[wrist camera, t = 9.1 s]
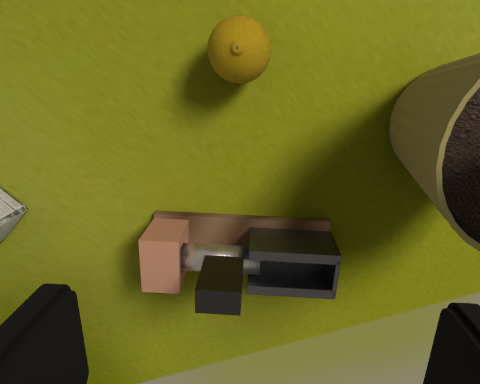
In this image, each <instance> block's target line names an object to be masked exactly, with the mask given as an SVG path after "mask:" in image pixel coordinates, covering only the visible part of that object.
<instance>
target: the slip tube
mask: <svg viewBox="0 0 480 384" xmlns="http://www.w3.org/2000/svg"><path fill="white" fill-rule="evenodd" d="M180 269H181V271H195V272H200V274H199V278H198V281H197V285H196V288H195V313H208V314H224V315H240V311H241V297H242V283H243V274H247V275H259V272H260V261H259V260H249V246H237V245H219V244H201V243H183V244H182V246H181V248H180Z"/></svg>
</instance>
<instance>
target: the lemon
mask: <svg viewBox="0 0 480 384" xmlns="http://www.w3.org/2000/svg"><path fill="white" fill-rule="evenodd" d="M270 54H271V44H270V40H269V37H268V34H267V32H266V31H265V29H264V27H263V26H262V25H261V24H260V23H259V22H258V21H256V20H254V19H252V18H251V17H247V16H243V15H236V16H231V17H228V18H225V19H224V20H223V21H221V22H220V23H218V25H217V26H216V27H215V28H214V29H213V31H212V33H211V35H210V37H209V42H208V57H209V61H210V63H211V65H212V67H213V69H214V71H215V72H216V73H217V74H218V75H219V76H220V77H222V78H223V79H224V80H226V81H229V82H232V83H239V84H242V83H247V82H250V81H252V80H254V79H256V78H257V77H258V76H260V75H261V74H262V73H263V71H264V70H265V69H266V67H267V65H268V62H269V60H270Z"/></svg>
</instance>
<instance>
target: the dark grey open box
mask: <svg viewBox="0 0 480 384" xmlns="http://www.w3.org/2000/svg"><path fill="white" fill-rule="evenodd" d="M249 260H259V261H260V272H259V275H248V286H247V294H256V295H273V296H289V297H306V298H323V299H335V296H336V290H337V283H338V276H339V270H340V263H341V254H340V252H339V249H338V247H337V245H336V243H335V240H334V238H333V236H332V234H331V232H330V231H312V230H293V229H275V228H256V227H250V245H249Z"/></svg>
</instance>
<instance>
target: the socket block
mask: <svg viewBox="0 0 480 384" xmlns="http://www.w3.org/2000/svg"><path fill="white" fill-rule="evenodd" d="M138 242H139V257H140V272H141V287H142V292H154V293H171V294H180V292H181V289H182V286H183V283H184V281H185V278H186V275H187V272H188V271H181V269H180V248H181V246H182V244H183V243H189V220H181V219H162V218H154V219H153V220H152V222H151V223H150V224H149V226H148V227H147V229H146V230H145V232H144V233H143V234H142V236H141V237H140V239H139V240H138Z"/></svg>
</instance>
